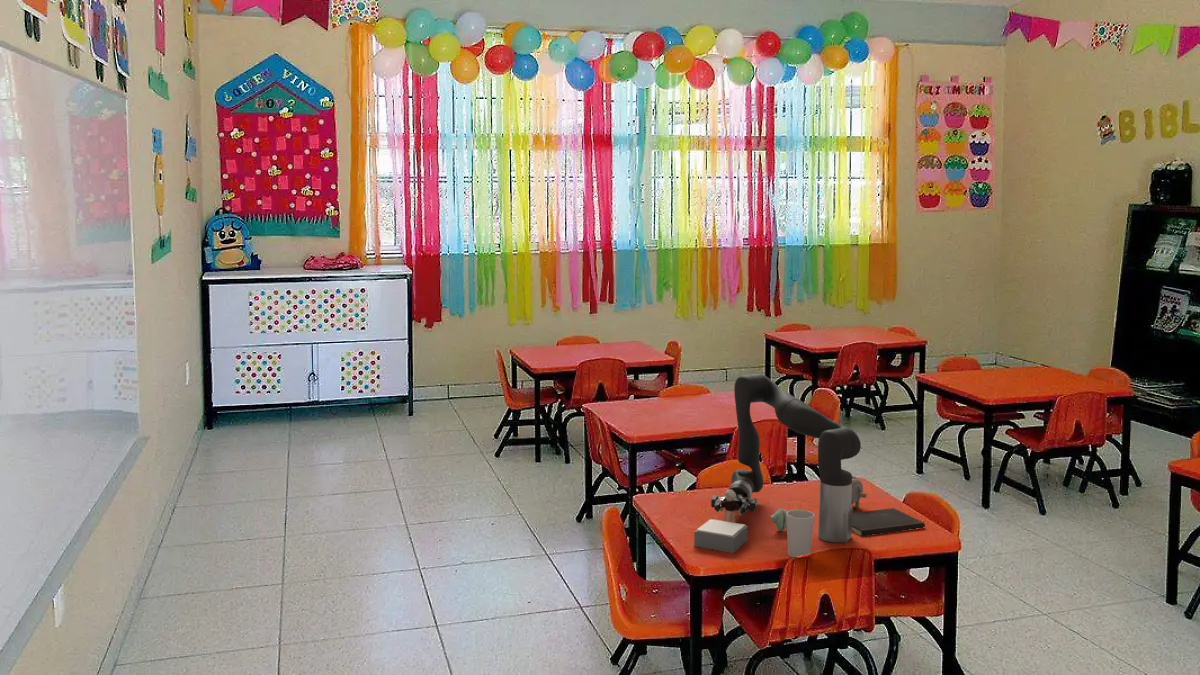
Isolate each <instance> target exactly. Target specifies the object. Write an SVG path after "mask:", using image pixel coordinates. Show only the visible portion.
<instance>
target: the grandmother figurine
mask: <svg viewBox="0 0 1200 675" xmlns="http://www.w3.org/2000/svg"><path fill="white" fill-rule="evenodd" d="M725 494H726V499H727V500H725V501H724V502H723V503H722V504H721V507H720V510H719V512H723V511H724V514H723V521H726V522H732V523H736V512H737V514H738V515H739V516H741V515H742V514H741V510H740V507H739V506H738V504H736V503H735V502H734V501H733V500H734V498H735V497H737V496H736V494H735V492H734V491H733V490H728V489H727V490H725V493H724V495H725ZM724 507H725V509H724Z"/></svg>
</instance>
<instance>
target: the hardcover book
mask: <svg viewBox="0 0 1200 675" xmlns="http://www.w3.org/2000/svg"><path fill="white" fill-rule="evenodd" d="M923 527H925V528H926V524H925V522H924V521H921V520H919V519H917V518H916V517H913V516H911V515H910V514H907V513H905V512H903V511H901V510H899V509H897V508H895V507H891V508H890V507H889V508H883V509H874V510H866V511H865V510H864V511H859V512H853V513H852V532H853V533H855V534H857V535H858V536H860V535H861V536H860V537H868V536H867V535H869V536H873V535H872V534H877V535H881V534H880V533H885V534H889V533H888V532H893V533H896V532H895V531H901V532H903V531H902V530H909V529H916V528H923ZM909 531H910V530H909Z"/></svg>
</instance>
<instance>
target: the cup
mask: <svg viewBox="0 0 1200 675" xmlns="http://www.w3.org/2000/svg"><path fill="white" fill-rule="evenodd" d="M815 515H816V514H815V513H814V512H812V511H810V510H805V509H791V510H787V513H786V518H787V528H786V531H787V556H789V557H791V558H794V557H796V556H800V555H805V554H809V553H810V554H811V549H812V548H811V547H812V541H813V540H812V539H813V531H814V524H815Z"/></svg>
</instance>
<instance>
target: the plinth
mask: <svg viewBox="0 0 1200 675" xmlns="http://www.w3.org/2000/svg"><path fill="white" fill-rule="evenodd" d="M693 536H694V538H693V539H694V540H693V546H694V547H697V548H701V549H702V548H703V549H707V550H708V549H709V550H712V549H714V550H713V551H718V550H719V552H724V553H731V554H734V553H735V552H736V551H738V549H740V548H741V547H742V546H743V545H744V544H745V543H747V541H748V525H746V524H743V523H737V522H735V523H732V522H726V521H724V520H720V519H719V520H718V519H711V518H710V519H708V521H706V522H704V523H703V524H702V525H701V526H699V527H698V528H697V529H696V530H694V535H693ZM740 546H741V547H740Z"/></svg>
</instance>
